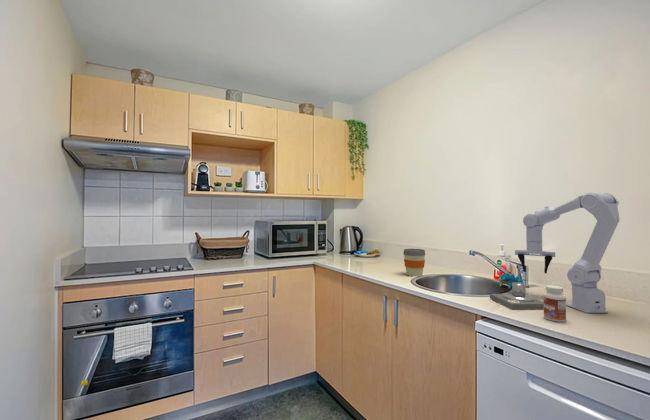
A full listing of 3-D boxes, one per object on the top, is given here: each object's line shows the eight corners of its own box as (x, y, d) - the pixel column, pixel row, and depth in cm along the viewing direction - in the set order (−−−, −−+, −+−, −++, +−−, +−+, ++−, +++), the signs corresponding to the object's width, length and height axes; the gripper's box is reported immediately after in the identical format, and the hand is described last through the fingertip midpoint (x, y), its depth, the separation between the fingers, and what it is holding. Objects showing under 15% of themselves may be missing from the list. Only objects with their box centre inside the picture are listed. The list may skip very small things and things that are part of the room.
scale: (549, 309, 113) (548, 302, 113) (512, 309, 113) (512, 302, 113) (522, 298, 128) (522, 292, 128) (490, 298, 128) (489, 292, 128)
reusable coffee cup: (411, 272, 187) (411, 248, 188) (429, 275, 178) (429, 250, 178) (399, 274, 179) (399, 249, 180) (417, 278, 170) (417, 251, 170)
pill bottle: (539, 316, 106) (538, 284, 106) (555, 315, 106) (554, 284, 106) (554, 322, 99) (553, 289, 100) (571, 322, 100) (570, 288, 100)
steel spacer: (528, 297, 120) (528, 284, 120) (516, 297, 120) (516, 284, 121) (521, 294, 125) (521, 282, 125) (509, 294, 125) (509, 282, 125)
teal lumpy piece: (528, 285, 145) (518, 272, 142) (525, 295, 142) (514, 282, 139) (505, 284, 154) (495, 271, 151) (501, 293, 151) (491, 280, 149)
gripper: (554, 241, 132) (554, 272, 132) (515, 240, 140) (515, 269, 140) (555, 242, 126) (556, 275, 126) (514, 241, 134) (515, 271, 134)
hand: (534, 272), depth 132 cm, fingers open, 7 cm apart
